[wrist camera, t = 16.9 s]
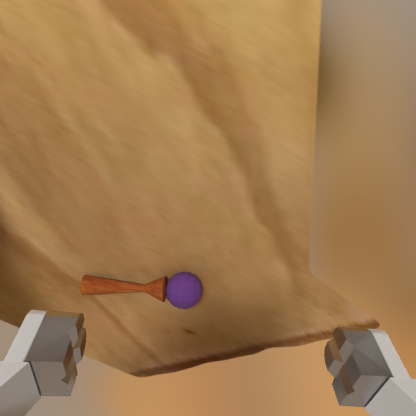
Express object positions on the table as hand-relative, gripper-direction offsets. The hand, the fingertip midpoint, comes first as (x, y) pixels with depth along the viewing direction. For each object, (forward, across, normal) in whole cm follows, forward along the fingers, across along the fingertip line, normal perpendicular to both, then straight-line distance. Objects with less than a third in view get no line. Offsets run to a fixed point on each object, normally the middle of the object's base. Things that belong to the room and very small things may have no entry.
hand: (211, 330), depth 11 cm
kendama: (+35, -6, -35) cm, 49 cm away
